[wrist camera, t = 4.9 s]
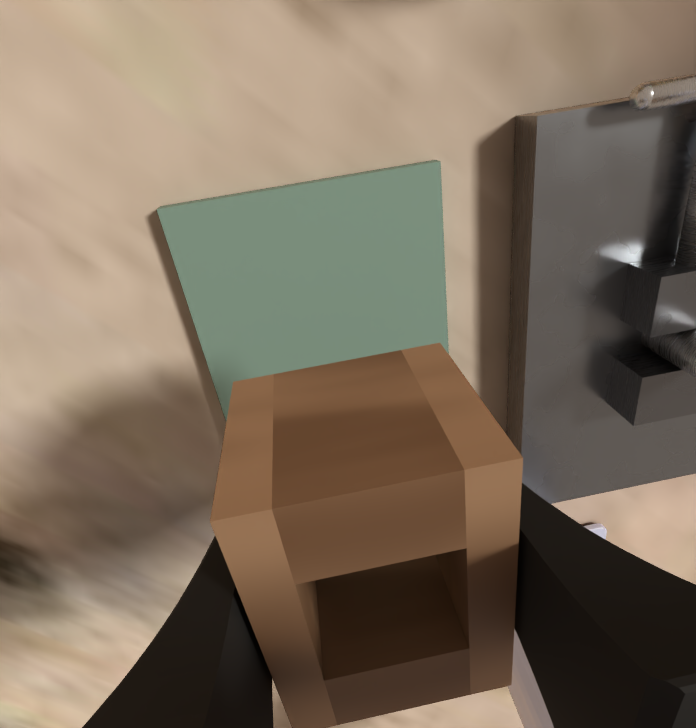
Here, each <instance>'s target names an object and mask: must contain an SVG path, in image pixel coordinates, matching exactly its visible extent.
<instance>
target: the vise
mask: <svg viewBox="0 0 696 728" xmlns="http://www.w3.org/2000/svg"><path fill="white" fill-rule="evenodd" d="M507 436H508V438H509V439H510V440H511V442H512V443H513V445H514V446H515V447H516V449H517V450H518V451H519V453H520V454H521V456H522V457H523V470H522V483H523V484H525V485H526V486H527V487H529V488H530V489H531V490H533V491H534V492H535V493H536V494H538V495H539V496H540V497H542V498H543V499H544V500H546V501H547V502H549V503H550V504H552V503H556V502H561V501H566V500H571V499H576V498H580V497H585V496H590V495H595V494H599V493H604V492H609V491H614V490H618V489H623V488H628V487H633V486H638V485H642V484H647V483H652V482H657V481H661V480H666V479H671V478H676V477H681V476H685V475H690V474H695V473H696V74H692V75H686V76H680V77H674V78H668V79H662V80H656V81H650V82H644V83H641V84H639V85H638V86H637V87H635V88H634V90H633V91H632V92H631V94H630V97H627V98H621V99H615V100H609V101H603V102H597V103H591V104H585V105H579V106H573V107H567V108H561V109H555V110H548V111H542V112H536V113H530V114H524V115H518V116H516V122H515V157H514V193H513V229H512V265H511V300H510V336H509V372H508V407H507Z"/></svg>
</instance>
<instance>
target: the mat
mask: <svg viewBox="0 0 696 728" xmlns="http://www.w3.org/2000/svg"><path fill="white" fill-rule="evenodd" d="M157 212H158V215H159V218H160V221H161V224H162V228H163V231H164V234H165V237H166V240H167V243H168V246H169V249H170V252H171V255H172V258H173V261H174V264H175V267H176V270H177V273H178V276H179V279H180V282H181V285H182V289H183V292H184V295H185V298H186V301H187V304H188V307H189V310H190V313H191V316H192V319H193V322H194V325H195V328H196V331H197V334H198V337H199V340H200V343H201V346H202V350H203V353H204V356H205V359H206V362H207V365H208V368H209V371H210V374H211V377H212V380H213V383H214V386H215V389H216V392H217V395H218V398H219V401H220V404H221V407H222V411H223V414H224V417H225V420H226V422H227V416H228V410H229V404H230V397H231V391H232V385H233V382H235V381H240V380H245V379H250V378H256V377H261V376H266V375H272V374H277V373H282V372H287V371H293V370H298V369H303V368H309V367H314V366H319V365H324V364H330V363H335V362H340V361H345V360H351V359H356V358H361V357H367V356H372V355H377V354H382V353H388V352H393V351H398V350H404V349H409V348H414V347H419V346H425V345H430V344H435V343H441V345H442V346H443V347H444V349H445V350H446V351H447V353H448V354H449V351H448V328H447V304H446V281H445V257H444V233H443V210H442V186H441V163H440V161H438V160H432V161H426V162H420V163H414V164H408V165H402V166H396V167H390V168H384V169H379V170H373V171H367V172H361V173H355V174H349V175H343V176H337V177H331V178H325V179H319V180H314V181H308V182H302V183H296V184H290V185H284V186H278V187H272V188H266V189H260V190H254V191H249V192H243V193H237V194H231V195H225V196H219V197H213V198H207V199H201V200H195V201H189V202H184V203H178V204H172V205H166V206H160V207H159V208H158V209H157Z"/></svg>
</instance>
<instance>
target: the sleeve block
mask: <svg viewBox="0 0 696 728" xmlns="http://www.w3.org/2000/svg"><path fill="white" fill-rule="evenodd" d="M522 470H523V457H522V456H521V454H520V453H519V451H518V450H517V449H516V447H515V446H514V445H513V443H512V442H511V440H510V439H509V438H508V436H507V435H506V433H505V432H504V431H503V429H502V428H501V426H500V425H499V424H498V422H497V421H496V420H495V418H494V417H493V415H492V414H491V413H490V411H489V410H488V408H487V407H486V406H485V404H484V403H483V401H482V400H481V399H480V397H479V396H478V395H477V393H476V392H475V390H474V389H473V388H472V386H471V385H470V383H469V382H468V381H467V379H466V378H465V376H464V375H463V374H462V372H461V371H460V370H459V368H458V367H457V365H456V364H455V363H454V361H453V360H452V358H451V357H450V356H449V354H448V353H447V351H446V350H445V349H444V347H443V346H442V345H441V343H435V344H430V345H425V346H419V347H414V348H409V349H404V350H398V351H393V352H388V353H382V354H377V355H372V356H367V357H361V358H356V359H351V360H345V361H340V362H335V363H330V364H324V365H319V366H314V367H309V368H303V369H298V370H293V371H287V372H282V373H277V374H272V375H266V376H261V377H256V378H250V379H245V380H240V381H235V382H233V385H232V391H231V397H230V404H229V410H228V416H227V422H226V428H225V434H224V440H223V446H222V452H221V458H220V464H219V470H218V476H217V482H216V488H215V494H214V500H213V506H212V512H211V518H210V523H211V526H212V528H213V531H214V533H215V536H216V538H217V541H218V543H219V546H220V548H221V551H222V553H223V556H224V558H225V561H226V563H227V566H228V568H229V571H230V573H231V576H232V578H233V581H234V583H235V586H236V588H237V591H238V593H239V596H240V598H241V601H242V603H243V606H244V608H245V611H246V613H247V616H248V618H249V621H250V623H251V626H252V628H253V631H254V633H255V636H256V638H257V641H258V643H259V646H260V648H261V651H262V653H263V656H264V658H265V661H266V663H267V666H268V668H269V671H270V673H271V676H272V678H273V681H274V683H275V686H276V688H277V691H278V693H279V696H280V698H281V701H282V703H283V706H284V708H285V711H286V713H287V716H288V718H289V721H290V723H291V726H292V728H326V727H331V726H335V725H340V724H344V723H348V722H353V721H357V720H361V719H366V718H370V717H375V716H379V715H383V714H388V713H392V712H396V711H401V710H405V709H409V708H414V707H418V706H423V705H427V704H431V703H436V702H440V701H444V700H449V699H453V698H458V697H462V696H466V695H471V694H475V693H479V692H484V691H488V690H492V689H497V688H501V687H506V686H510V685H511V684H512V665H513V645H514V626H515V606H516V587H517V567H518V548H519V528H520V509H521V489H522Z"/></svg>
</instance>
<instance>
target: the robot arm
mask: <svg viewBox="0 0 696 728" xmlns="http://www.w3.org/2000/svg"><path fill="white" fill-rule="evenodd" d="M606 534H607V529H606V528H605V527H604V526H603V525H602V524H600V523H596V524H591V525H586V526H582V525H581V524H579V523H577V522H576V521H574V520H573V519H571V518H570V517H568V516H567V515H566V514H564V513H563V512H561V511H560V510H558V509H557V508H555V507H554V506H553V505H551V504H550V503H549V502H547V501H546V500H544V499H543V498H542V497H540V496H539V495H538V494H536V493H535V492H534V491H533V490H531V489H530V488H529V487H527V486H526V485H525V484H523V483H522V489H521V509H520V528H519V548H518V567H517V587H516V606H515V626H514V645H513V665H512V684H511V685H510V686H507V687H508V689H509V691H510V694H511V696H512V699H513V701H514V704H515V706H516V709H517V711H518V714H519V716H520V719H521V721H522V724H523V726H524V728H696V585H695V584H693V583H690V582H688V581H686V580H684V579H681V578H679V577H677V576H675V575H673V574H671V573H668V572H666V571H664V570H662V569H660V568H658V567H656V566H654V565H652V564H650V563H648V562H646V561H644V560H642V559H640V558H638V557H636V556H634V555H632V554H630V553H628V552H627V551H625V550H623V549H621V548H619V547H617V546H616V545H614V544H612V543H610V542H609V541H607V540H605V539H606ZM82 728H273V703H272V676H271V673H270V671H269V668H268V666H267V663H266V661H265V658H264V656H263V653H262V651H261V648H260V646H259V643H258V641H257V638H256V636H255V633H254V631H253V628H252V626H251V623H250V621H249V618H248V616H247V613H246V611H245V608H244V606H243V603H242V601H241V598H240V596H239V593H238V591H237V588H236V586H235V583H234V581H233V578H232V576H231V573H230V571H229V568H228V566H227V563H226V561H225V558H224V556H223V553H222V551H221V548H220V546H219V543H218V541H217V538H216V536H215V537H214V539H213V541H212V543H211V545H210V546H209V548H208V550H207V552H206V554H205V556H204V558H203V560H202V562H201V564H200V566H199V568H198V569H197V571H196V573H195V575H194V576H193V578H192V580H191V581H190V583H189V585H188V587H187V588H186V590H185V592H184V593H183V595H182V597H181V598H180V600H179V602H178V603H177V605H176V606H175V608H174V610H173V611H172V613H171V614H170V616H169V617H168V619H167V620H166V622H165V623H164V625H163V626H162V628H161V629H160V631H159V632H158V634H157V635H156V636H155V638H154V639H153V641H152V642H151V643H150V645H149V646H148V647H147V649H146V650H145V651H144V653H143V654H142V655H141V657H140V658H139V660H138V661H137V662H136V664H135V665H134V666H133V668H132V669H131V670H130V671H129V673H128V674H127V675H126V676H125V678H124V679H123V680H122V681H121V683H120V684H119V685H118V686H117V688H116V689H115V690H114V691H113V692H112V693H111V695H110V696H109V697H108V698H107V699H106V700H105V702H104V703H103V704H102V705H101V706H100V708H99V709H98V710H97V711H96V712H95V713H94V715H93V716H92V717H91V718H90V719H89V720H88V722H87V723H86V724H85V725H84V726H83V727H82Z"/></svg>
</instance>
